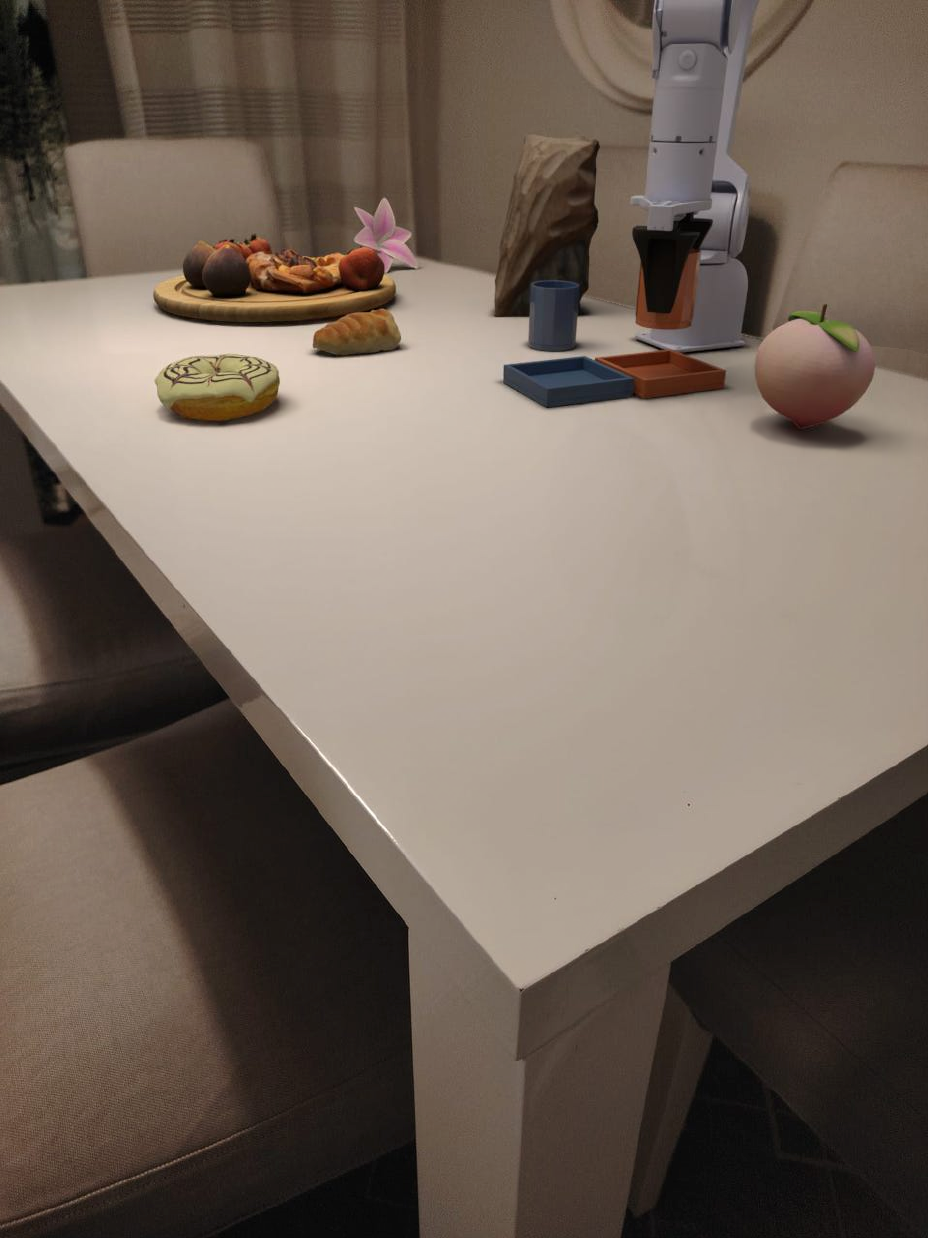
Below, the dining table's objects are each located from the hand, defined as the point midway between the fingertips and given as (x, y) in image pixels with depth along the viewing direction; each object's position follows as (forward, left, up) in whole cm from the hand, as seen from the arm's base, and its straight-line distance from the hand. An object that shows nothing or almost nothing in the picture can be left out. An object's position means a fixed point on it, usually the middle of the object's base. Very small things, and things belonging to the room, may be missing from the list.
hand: (665, 306), depth 85 cm
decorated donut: (+40, -8, -7) cm, 42 cm away
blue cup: (+2, -17, -7) cm, 19 cm away
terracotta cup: (0, 0, -2) cm, 2 cm away
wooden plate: (+24, -54, -7) cm, 60 cm away
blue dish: (+9, -1, -7) cm, 12 cm away
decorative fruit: (-3, +17, -7) cm, 19 cm away
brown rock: (-5, -36, -7) cm, 37 cm away
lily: (+2, -74, -7) cm, 74 cm away
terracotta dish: (0, 0, -7) cm, 7 cm away
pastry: (+22, -24, -7) cm, 34 cm away
